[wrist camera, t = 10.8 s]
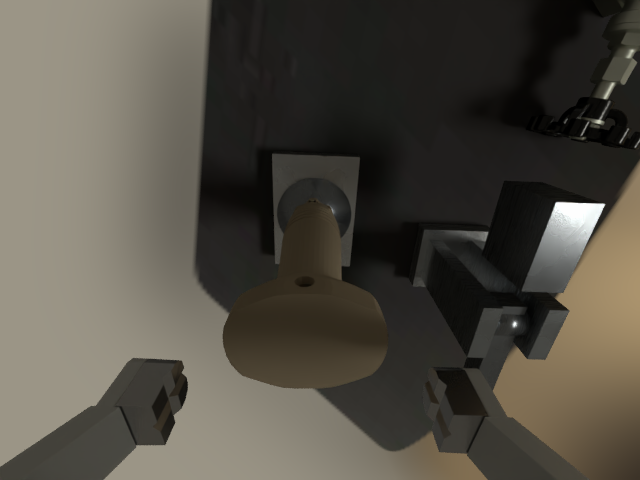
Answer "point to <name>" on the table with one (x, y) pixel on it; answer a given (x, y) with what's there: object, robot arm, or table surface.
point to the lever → (532, 255)
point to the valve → (603, 84)
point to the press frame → (420, 255)
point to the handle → (307, 314)
